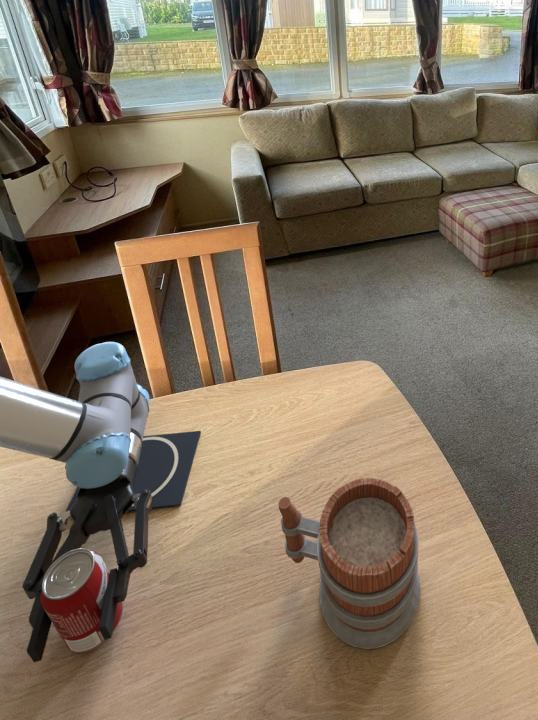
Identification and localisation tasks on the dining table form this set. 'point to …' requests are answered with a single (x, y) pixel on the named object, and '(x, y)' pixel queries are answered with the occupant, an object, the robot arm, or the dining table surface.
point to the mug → (361, 560)
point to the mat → (163, 468)
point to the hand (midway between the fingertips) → (70, 644)
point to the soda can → (77, 598)
